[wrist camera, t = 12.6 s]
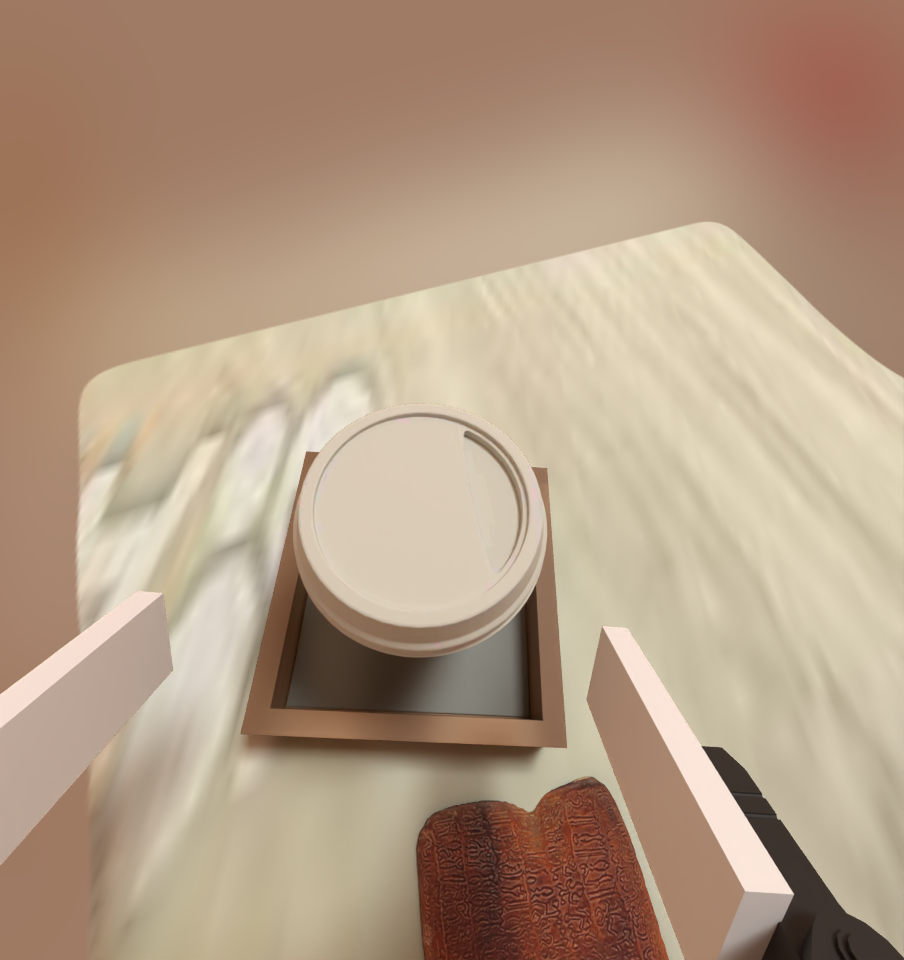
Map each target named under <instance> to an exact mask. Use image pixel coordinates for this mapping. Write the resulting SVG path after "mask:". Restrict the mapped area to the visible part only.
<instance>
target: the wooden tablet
mask: <svg viewBox="0 0 904 960" xmlns="http://www.w3.org/2000/svg"><path fill="white" fill-rule="evenodd" d="M417 851H418V868H419V884H420V898H421V918H422V930H423V941H424V950H425V958H426V960H669V959H668V956H667V952H666V948H665V944H664V942H663V940H662V937H661V934H660V930H659V925H658V921H657V919H656V916H655V913H654V910H653V907H652V903H651V900H650V897H649V894H648V891H647V888H646V886H645V880H644V877H643V873H642V870H641V868H640V865H639V863H638V860H637V857H636V854H635V850H634V847H633V845H632V842H631V839H630V836H629V833H628V830H627V828H626V826H625V823H624V821H623V819H622V816H621V814H620V812H619V809H618V807H617V805H616V802H615V800H614V799H613V797H612V795H611V793H610V792H609V790H608V789H607V788H606V786H605V785H604V784H602V783H601V782H599V781H598V780H596V779H595V778H594V777H582V778H580V779H577V780H575V781H573V782H570V783H568V784H566V785H563V786H560V787H558V788H556V789H554V790H551V791H550V792H548V793H547V794H545V795H544V796H543V798H542V799H541V800H540V802H539V803H538V805H537V806H536V808H535V809H534V810H533V812H526V811H525V810H524V809H522V808H519V807H517V806H516V805H514V804H509V803H507V802H500V801H479V802H473V803H467V804H461V805H459V806H458V805H455V806H452V807H449V808H446V809H444V810H441V811H438V812H436V813H434V814H433V815H432V816H431V817H430V818H429V819H428V820H427V823H426V825H425V826H424V827H423V829H422V830H421V832H420V836H419V843H418V847H417Z"/></svg>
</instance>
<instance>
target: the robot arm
mask: <svg viewBox="0 0 904 960" xmlns="http://www.w3.org/2000/svg"><path fill="white" fill-rule="evenodd" d="M172 671H173V666H172V658H171V650H170V642H169V634H168V626H167V618H166V610H165V602H164V594H163V593H156V592H143V591H137V592H135V593H134V594H133V595H131V596H130V597H129V598H127V599H126V600H125V601H123V602H122V603H121V604H119V605H118V606H117V607H116V608H114V609H113V610H112V611H110V612H109V613H108V614H106V615H105V616H104V617H102V618H101V619H100V620H98V621H97V622H96V623H94V624H93V625H92V626H90V627H89V628H88V629H86V630H85V631H84V632H82V633H81V634H80V635H78V636H77V637H76V638H74V639H73V640H72V641H71V642H69V643H68V644H67V645H65V646H64V647H63V648H61V649H60V650H59V651H57V652H56V653H55V654H53V655H52V656H51V657H49V658H48V659H47V660H45V661H44V662H43V663H41V664H40V665H39V666H37V667H36V668H35V669H33V670H32V671H31V672H30V673H28V674H27V675H25V676H24V677H23V678H21V679H20V680H19V681H18V682H16V683H15V684H13V685H12V686H11V687H10V688H8V689H7V690H6V691H4V692H3V693H2V694H0V865H1V864H2V863H3V862H4V861H5V860H6V859H7V857H8V856H9V855H10V854H11V853H12V852H13V851H14V849H15V848H16V847H17V846H18V845H19V844H20V843H21V842H22V840H23V839H24V838H25V837H26V836H27V835H28V834H29V832H30V831H31V830H32V829H33V828H34V827H35V826H36V825H37V823H38V822H39V821H40V820H41V819H42V818H43V816H45V814H46V813H47V812H48V811H49V810H50V809H51V808H52V806H53V805H54V804H55V803H56V802H57V801H58V800H59V799H60V797H61V796H62V795H63V794H64V793H65V792H66V791H67V789H68V788H69V787H70V786H71V785H72V784H73V783H74V782H75V780H76V779H77V778H78V777H79V776H80V775H81V773H83V771H84V770H85V769H86V768H87V767H88V766H89V765H90V763H91V762H92V761H93V760H94V759H95V758H96V757H97V756H98V754H99V753H100V752H101V751H102V750H103V749H104V748H105V747H106V745H107V744H108V743H109V742H110V741H111V740H112V739H113V737H114V736H115V735H116V734H117V733H118V732H119V731H120V730H121V728H122V727H123V726H124V725H125V724H126V723H127V722H128V720H129V719H130V718H131V717H132V716H133V715H134V714H135V713H136V711H137V710H138V709H139V708H140V707H141V706H142V705H143V704H144V702H145V701H146V700H147V699H148V698H149V697H150V696H151V694H152V693H153V692H154V691H155V690H156V689H157V688H158V687H159V685H160V684H161V683H162V682H163V681H164V680H165V679H166V678H167V676H168V675H169V674H170V673H171V672H172ZM587 702H588V705H589V708H590V710H591V713H592V716H593V718H594V721H595V724H596V726H597V729H598V731H599V734H600V737H601V739H602V742H603V745H604V747H605V750H606V753H607V755H608V758H609V761H610V763H611V766H612V768H613V771H614V774H615V776H616V779H617V782H618V784H619V787H620V790H621V792H622V795H623V797H624V800H625V803H626V805H627V808H628V811H629V813H630V816H631V819H632V821H633V824H634V826H635V829H636V832H637V834H638V837H639V840H640V842H641V845H642V848H643V850H644V853H645V855H646V858H647V861H648V863H649V866H650V869H651V871H652V874H653V877H654V879H655V882H656V885H657V887H658V890H659V892H660V895H661V898H662V900H663V903H664V906H665V908H666V911H667V914H668V916H669V919H670V921H671V924H672V927H673V929H674V932H675V935H676V937H677V940H678V943H679V945H680V948H681V950H682V953H683V956H684V958H685V960H904V958H903V957H902V956H901V954H900V953H899V952H898V951H897V950H896V949H895V948H894V947H893V946H892V945H891V944H890V943H889V942H888V941H887V940H886V939H885V938H884V937H883V936H881V935H880V934H879V933H877V932H876V931H875V930H874V929H872V928H871V927H870V926H868V925H867V924H866V923H864V922H862V921H860V920H859V919H857V918H855V917H853V916H851V915H849V914H847V913H846V912H845V911H844V910H843V908H842V907H841V906H840V905H839V903H838V902H837V901H836V899H835V898H834V896H833V895H832V893H831V892H830V891H829V889H828V888H827V886H826V885H825V883H824V882H823V880H822V879H821V878H820V876H819V875H818V873H817V872H816V870H815V869H814V868H813V866H812V865H811V863H810V862H809V860H808V859H807V857H806V856H805V855H804V853H803V852H802V850H801V849H800V847H799V846H798V845H797V843H796V842H795V840H794V839H793V837H792V836H791V834H790V833H789V832H788V830H787V829H786V827H785V826H784V824H783V823H782V822H781V820H778V819H777V816H776V813H775V811H774V810H773V809H772V807H771V806H770V804H769V803H768V801H767V800H766V799H765V798H763V797H762V793H761V791H760V790H759V788H758V787H757V786H756V784H755V783H754V781H753V780H752V778H751V777H750V776H749V774H748V773H747V771H746V770H745V769H744V768H743V767H742V766H741V765H740V764H739V763H738V762H737V761H736V760H735V759H734V758H732V757H731V756H730V755H729V754H728V753H727V752H726V751H725V750H724V749H723V748H720V747H705V746H701V745H700V743H699V742H698V740H697V738H696V737H695V735H694V734H693V732H692V730H691V729H690V727H689V726H688V724H687V722H686V721H685V719H684V718H683V716H682V714H681V713H680V711H679V710H678V708H677V706H676V705H675V703H674V702H673V700H672V698H671V697H670V695H669V694H668V692H667V690H666V689H665V687H664V686H663V684H662V682H661V681H660V679H659V678H658V676H657V675H656V673H655V671H654V670H653V668H652V667H651V665H650V663H649V662H648V660H647V659H646V657H645V655H644V654H643V652H642V651H641V649H640V647H639V646H638V644H637V643H636V641H635V639H634V638H633V636H632V635H631V633H630V631H629V630H628V628H621V627H608V626H602V630H601V634H600V639H599V644H598V648H597V653H596V658H595V663H594V667H593V672H592V677H591V681H590V686H589V691H588V695H587Z"/></svg>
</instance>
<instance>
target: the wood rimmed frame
mask: <svg viewBox="0 0 904 960" xmlns="http://www.w3.org/2000/svg"><path fill="white" fill-rule="evenodd" d="M318 454H319V452H306V455H305V459H304V464H303V468H302V472H301V476H300V481H299V485H298V489H297V494H296V498H295V502H294V507H293V511H292V515H291V519H290V524H289V528H288V532H287V537H286V541H285V545H284V549H283V554H282V558H281V562H280V567H279V571H278V575H277V580H276V584H275V588H274V592H273V597H272V601H271V605H270V610H269V614H268V618H267V622H266V627H265V631H264V635H263V640H262V644H261V648H260V653H259V657H258V661H257V665H256V670H255V674H254V678H253V683H252V687H251V691H250V695H249V700H248V704H247V708H246V713H245V717H244V721H243V725H242V730H241V734H248V735H272V736H295V737H319V738H342V739H366V740H390V741H413V742H437V743H460V744H484V745H507V746H531V747H554V748H567V741H566V727H565V713H564V699H563V685H562V671H561V657H560V643H559V629H558V615H557V601H556V587H555V573H554V559H553V545H552V531H551V517H550V503H549V489H548V475H547V468H536V467H531V468H532V470H533V472H534V474H535V476H536V479H537V482H538V485H539V488H540V492H541V496H542V500H543V503H544V507H545V512H546V520H547V544H546V552H545V556H544V560H543V565H542V569H541V572H540V575H539V578H538V580H537V583H536V585H535V587H534V589H533V591H532V593H531V595H530V596H529V598H528V600H527V601H526V603H525V604H524V606H523V607H522V608H521V610H520V611H519V612H518V613H517V614H516V615H515V617H514V618H513V619H512V620H511V621H510V622H509V623H508V624H506V625H505V626H504V627H503V628H502V629H500V630H499V631H498V632H497V633H495V634H494V635H492V636H491V637H489V638H488V639H486V640H484V641H482V642H480V643H478V644H476V645H474V646H472V647H470V648H467V649H465V650H462V651H459V652H455V653H452V654H447V655H442V656H435V657H421V658H419V657H403V656H396V655H391V654H387V653H383V652H380V651H377V650H374V649H371V648H368V647H366V646H364V645H362V644H360V643H358V642H356V641H354V640H353V639H351V638H349V637H348V636H346V635H345V634H343V633H342V632H341V631H339V630H338V629H337V628H336V627H334V626H333V625H332V624H331V623H330V622H329V621H328V620H327V619H326V618H325V617H324V616H323V615H322V613H321V612H320V611H319V610H318V608H317V607H316V606H315V604H314V603H313V601H312V600H311V598H310V596H309V595H308V593H307V591H306V589H305V587H304V584H303V582H302V579H301V577H300V574H299V570H298V566H297V562H296V557H295V552H294V544H293V521H294V514H295V509H296V505H297V502H298V498H299V495H300V493H301V490H302V486H303V482H304V480H305V478H306V475H307V473H308V471H309V468H310V467H311V465H312V463H313V461H314V460H315V458H316V457H317V455H318Z"/></svg>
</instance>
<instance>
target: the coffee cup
mask: <svg viewBox="0 0 904 960" xmlns="http://www.w3.org/2000/svg"><path fill="white" fill-rule="evenodd" d="M293 544H294V552H295V557H296V562H297V566H298V570H299V574H300V577H301V579H302V582H303V584H304V587H305V589H306V591H307V593H308V595H309V596H310V598H311V600H312V601H313V603H314V604H315V606H316V607H317V608H318V610H319V611H320V612H321V613H322V615H323V616H324V617H325V618H326V619H327V620H328V621H329V622H330V623H331V624H332V625H333V626H334V627H336V628H337V629H338V630H339V631H341V632H342V633H343V634H345V635H346V636H348V637H349V638H351V639H353V640H354V641H356V642H358V643H360V644H362V645H364V646H366V647H368V648H371V649H374V650H377V651H380V652H383V653H387V654H391V655H396V656H403V657H419V658H421V657H435V656H442V655H447V654H452V653H455V652H459V651H462V650H465V649H467V648H470V647H472V646H474V645H476V644H478V643H480V642H482V641H484V640H486V639H488V638H489V637H491V636H492V635H494V634H495V633H497V632H498V631H499V630H500V629H502V628H503V627H504V626H505V625H506V624H508V623H509V622H510V621H511V620H512V619H513V618H514V617H515V615H516V614H517V613H518V612H519V611H520V610H521V608H522V607H523V606H524V604H525V603H526V601H527V600H528V598H529V596H530V595H531V593H532V591H533V589H534V587H535V585H536V583H537V580H538V578H539V575H540V572H541V569H542V565H543V560H544V556H545V552H546V544H547V520H546V512H545V507H544V503H543V500H542V496H541V492H540V488H539V485H538V482H537V479H536V476H535V474H534V472H533V470H532V468H531V466H530V464H529V462H528V461H527V459H526V457H525V456H524V455H523V453H522V452H521V451H520V449H519V448H518V447H517V446H516V444H515V443H514V442H513V441H512V440H511V439H510V438H509V437H508V436H507V435H505V434H504V433H503V432H502V431H500V430H499V429H498V428H497V427H495V426H494V425H492V424H491V423H489V422H487V421H486V420H484V419H482V418H480V417H478V416H476V415H474V414H471V413H469V412H466V411H464V410H460V409H457V408H453V407H449V406H444V405H438V404H425V403H422V404H404V405H398V406H392V407H389V408H385V409H381V410H378V411H376V412H373V413H370V414H368V415H366V416H364V417H362V418H360V419H358V420H356V421H354V422H353V423H351V424H349V425H348V426H346V427H345V428H344V429H343V430H341V431H340V432H339V433H337V434H336V435H335V436H334V437H333V438H332V439H331V440H330V441H329V442H328V443H327V444H326V445H325V446H324V448H323V449H322V450H321V451H320V452H319V454H318V455H317V457H316V458H315V460H314V461H313V463H312V465H311V467H310V468H309V471H308V473H307V475H306V478H305V480H304V482H303V486H302V490H301V493H300V495H299V498H298V502H297V505H296V509H295V514H294V521H293Z"/></svg>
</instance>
